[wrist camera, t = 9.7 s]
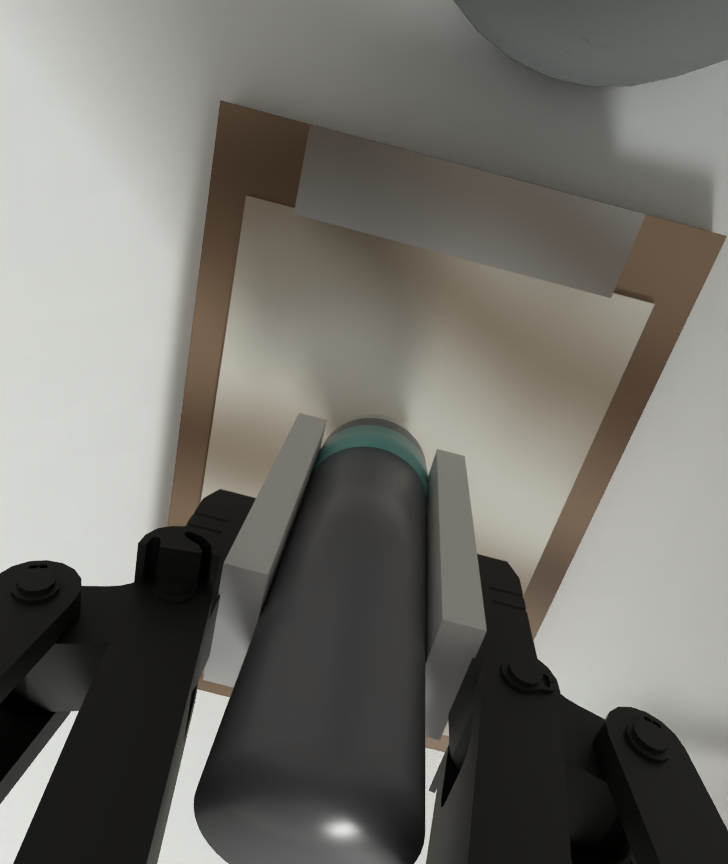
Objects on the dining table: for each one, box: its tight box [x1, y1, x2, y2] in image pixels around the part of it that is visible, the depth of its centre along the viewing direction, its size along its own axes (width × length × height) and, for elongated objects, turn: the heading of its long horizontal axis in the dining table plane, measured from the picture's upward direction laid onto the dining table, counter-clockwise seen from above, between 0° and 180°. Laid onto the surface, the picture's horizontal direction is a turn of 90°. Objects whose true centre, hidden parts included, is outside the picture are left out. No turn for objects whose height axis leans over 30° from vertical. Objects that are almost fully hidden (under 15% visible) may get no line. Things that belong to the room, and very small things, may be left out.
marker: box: [194, 414, 428, 864], centre depth 13 cm, size 3×3×11 cm
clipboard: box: [168, 100, 727, 752], centre depth 19 cm, size 20×13×2 cm, turn 166°
